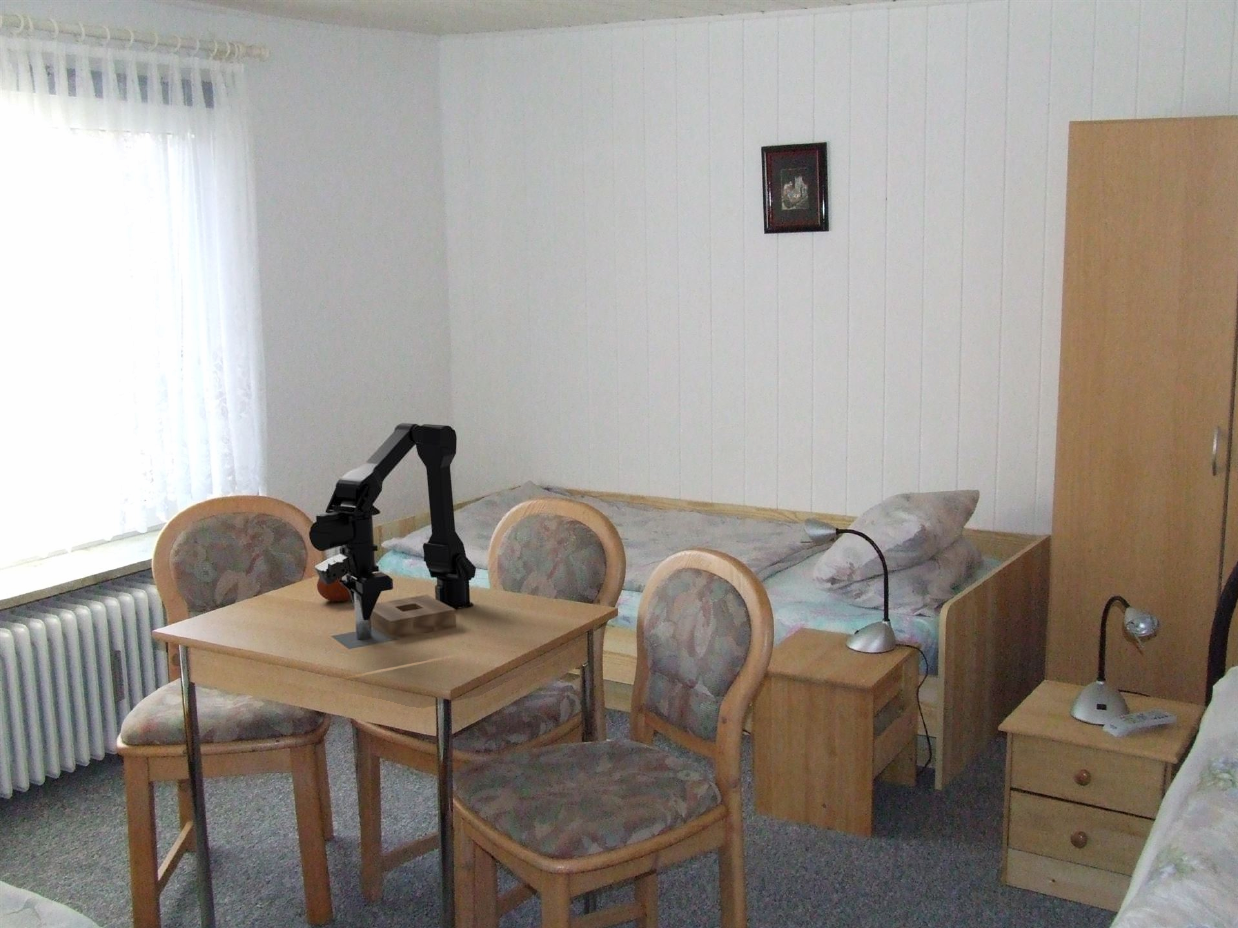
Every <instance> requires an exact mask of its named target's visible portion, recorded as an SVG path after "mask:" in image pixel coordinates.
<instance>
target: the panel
mask: <svg viewBox="0 0 1238 928" xmlns="http://www.w3.org/2000/svg"><path fill="white" fill-rule="evenodd" d="M371 629H372V638H370V639H367V640H358V639H356V631H351V632H346V633H340V634H335V635H331V638H332V639H334V640H336V641H337V642H338V643H340V644H341V645H342V646H344V647H346V648H347V649H348V650H350V649H355V648H360V647H365V646H372V645H377V644H381V643H387V642H393V641H397V640H399V638H394V639H390V638H389V637H387V636H386V635H384V634H382V633H381V632H379V631H378V630H376V629H374V628H372V627H371Z"/></svg>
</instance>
